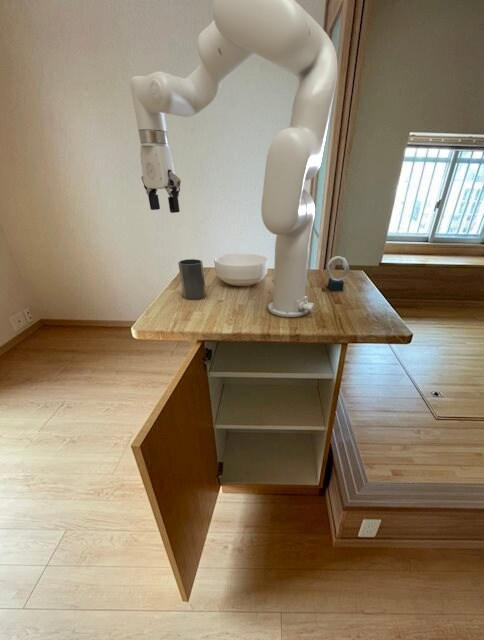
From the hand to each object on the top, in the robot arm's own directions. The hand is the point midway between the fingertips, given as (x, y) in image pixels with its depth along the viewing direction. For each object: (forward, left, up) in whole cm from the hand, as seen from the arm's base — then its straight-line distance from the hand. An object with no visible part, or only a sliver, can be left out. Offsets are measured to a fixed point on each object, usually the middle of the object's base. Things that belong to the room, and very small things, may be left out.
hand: (165, 210), depth 97 cm
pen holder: (-11, +1, -24) cm, 26 cm away
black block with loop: (-44, -38, -24) cm, 63 cm away
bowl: (-13, -21, -24) cm, 34 cm away
